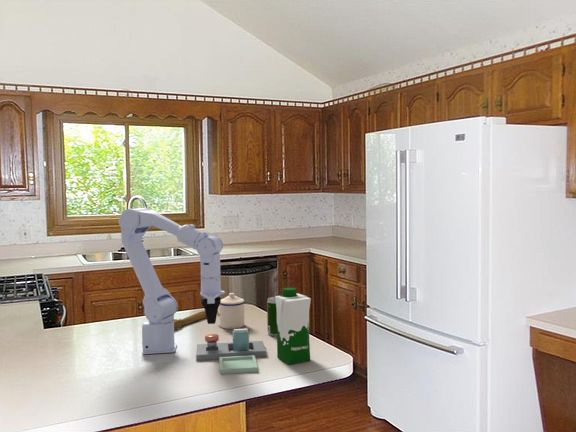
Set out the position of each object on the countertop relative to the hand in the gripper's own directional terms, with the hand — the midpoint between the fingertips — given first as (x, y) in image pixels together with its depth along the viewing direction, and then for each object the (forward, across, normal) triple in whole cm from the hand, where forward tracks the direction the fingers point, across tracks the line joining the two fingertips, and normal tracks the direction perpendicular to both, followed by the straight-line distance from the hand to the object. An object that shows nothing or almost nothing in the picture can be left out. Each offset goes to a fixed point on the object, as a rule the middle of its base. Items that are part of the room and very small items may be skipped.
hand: (211, 322), depth 153 cm
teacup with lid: (+10, +31, -6) cm, 33 cm away
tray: (+9, -12, -7) cm, 17 cm away
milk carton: (+10, -9, -23) cm, 26 cm away
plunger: (+7, 0, 0) cm, 7 cm away
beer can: (+10, +17, -21) cm, 29 cm away
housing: (+9, 0, -6) cm, 11 cm away
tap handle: (+10, +34, +10) cm, 37 cm away
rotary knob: (+9, 0, -8) cm, 13 cm away
